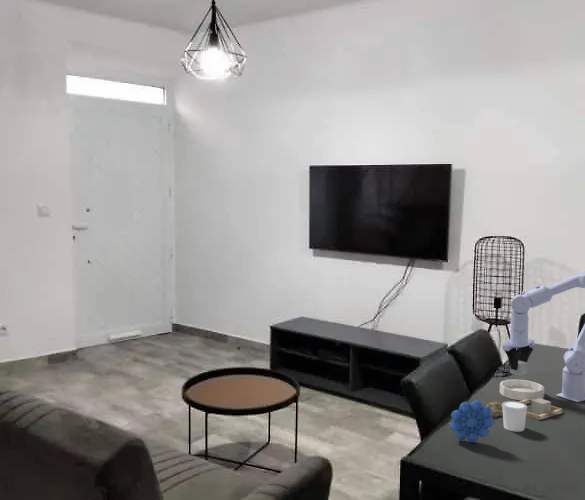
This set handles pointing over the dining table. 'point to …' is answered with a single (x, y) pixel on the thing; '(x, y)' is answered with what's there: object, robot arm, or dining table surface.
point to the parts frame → (542, 416)
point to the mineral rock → (495, 408)
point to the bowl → (521, 389)
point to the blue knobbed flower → (471, 421)
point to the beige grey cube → (540, 406)
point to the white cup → (514, 415)
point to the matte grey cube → (520, 368)
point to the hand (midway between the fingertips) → (518, 368)
